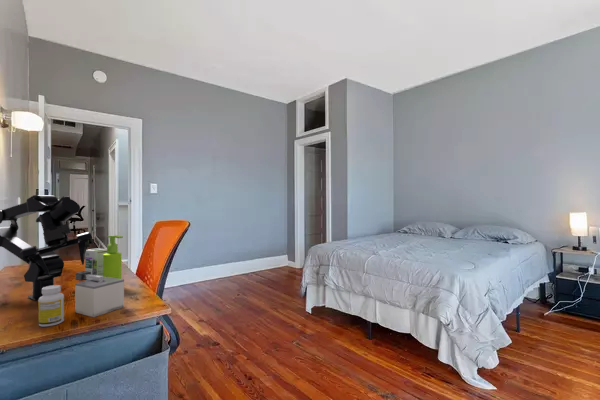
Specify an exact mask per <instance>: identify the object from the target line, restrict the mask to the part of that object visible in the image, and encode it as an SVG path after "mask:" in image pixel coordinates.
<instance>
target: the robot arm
mask: <svg viewBox="0 0 600 400" xmlns="http://www.w3.org/2000/svg"><path fill="white" fill-rule="evenodd" d="M80 211H81V207H80V204H79V203H78V202H77V201H75V200H74V199H72V198H71V197H70V196H69V195H68V196H65V195H64V196H61V198H60V199H59V198H57V197H56V195H55V194H54V195H50V194H49V195H46V194H33V195H32V196H29V197H28V198H27V199H26V201H24V202H23V203H20V204H16V205H13V206H10V207H7V208H4V209H0V224H1V223H2V222H5V221H8V222H9V221H10V225H9V226H8V225H7V226H5V225H4V226H0V247H1V248H3V249H5V250H6V251H7V252H10V253H11V254H13V255H14V256H15V257H16V258H18V259H20V260H21V261H23V262H24V263H26V264H27V265H28V270H27V271H26V272H25V273H24V275H23V277H24V282H26V283H32V295H28V297H27V298H28V299H31V300H33V301H38V300H39V298H40V297H41V296H43V294H42V288H43V287H47V286H52V285H55V278H60V277H62V273H63V270H64V267H65V262H64V260H63V258H61V256H60V254H56V253H55V252H54V251H57V250H58V251H59V250H61V249H65V248H68V247H72V246H76V245H78V246H77V247H78V249H79V251H78V252H79V256H80V257H79V258H80V262H81V265H82V266H83V265H84V266H85V253H86V250H88V248H90V246H91V245H92V244H94V243H95V242H94V239H93V237H92V236H93V235H92V234H91V232H89V231H87V232H86V231H85V232H83V233H80V234H76V237H77V238H74V239H70V240H69V236H68V234H69V235H70V234H71V233H72V231H71V228H70V226H69V223H64V222H67V221H68V220H69V219H71V218H72V217H74V216H76V214H78V213H79V212H80ZM36 213H42V214H39V216H38V217H37V218H36V220H35V222H36V223H40V224H41V228H42V235H43V239H44V242H45V245H47V246H44V247H40V248H38V247H37V246H36V245H33V246H32V245H31V244H29V243H27V242H25V241H24V240H22V239H21V238H19V237H18V230H19V224H18V222H17V221H18V219H20V218H23V217H26V216H29V215H34V214H36Z"/></svg>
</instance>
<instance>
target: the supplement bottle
mask: <svg viewBox="0 0 600 400" xmlns="http://www.w3.org/2000/svg"><path fill="white" fill-rule="evenodd" d="M61 288H62V285H59V284H54V285H52V286H47V287H43V288H42V294H43V296H41V297H40V298H39V300H37V302H38V304H37V305H38V326H40V327H43V328H44V327H53V326H56V325H59V324H61V323H63V322H64V321H65V294H64V293H62V292H61V290H62V289H61Z"/></svg>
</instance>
